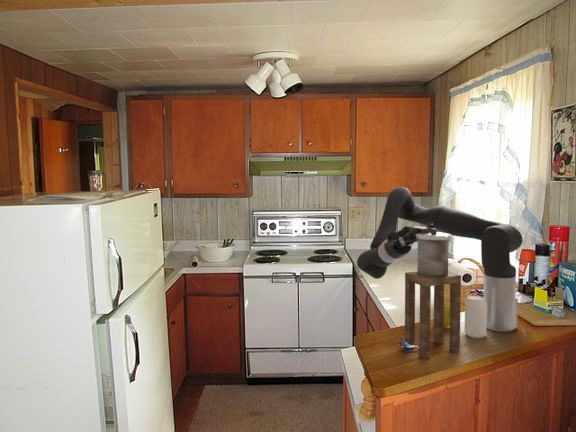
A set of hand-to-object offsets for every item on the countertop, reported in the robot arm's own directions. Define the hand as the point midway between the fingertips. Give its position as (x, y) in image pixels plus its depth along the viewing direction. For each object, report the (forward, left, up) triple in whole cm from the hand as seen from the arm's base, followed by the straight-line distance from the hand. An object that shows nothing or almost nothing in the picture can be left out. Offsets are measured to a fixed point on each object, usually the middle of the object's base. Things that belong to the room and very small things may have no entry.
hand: (421, 227), depth 131 cm
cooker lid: (0, +3, -2) cm, 4 cm away
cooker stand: (0, +6, -34) cm, 35 cm away
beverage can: (-19, +2, -35) cm, 40 cm away
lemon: (-15, -7, -35) cm, 38 cm away
